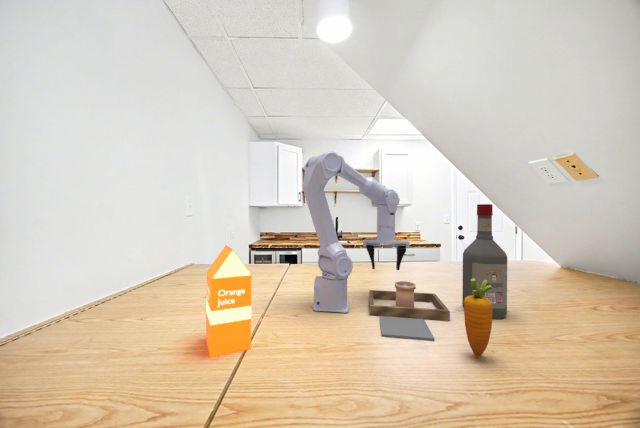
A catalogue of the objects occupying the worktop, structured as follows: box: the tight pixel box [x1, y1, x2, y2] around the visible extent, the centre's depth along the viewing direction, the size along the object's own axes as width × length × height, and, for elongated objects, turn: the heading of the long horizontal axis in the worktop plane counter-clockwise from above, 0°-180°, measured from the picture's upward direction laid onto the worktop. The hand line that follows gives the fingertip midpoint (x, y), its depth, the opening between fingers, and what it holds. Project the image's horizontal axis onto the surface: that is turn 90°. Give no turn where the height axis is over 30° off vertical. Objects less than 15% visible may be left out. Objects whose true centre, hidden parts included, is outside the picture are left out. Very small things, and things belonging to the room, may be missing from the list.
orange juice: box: [205, 244, 252, 358], centre depth 57 cm, size 8×9×20 cm
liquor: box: [461, 203, 508, 320], centre depth 76 cm, size 9×9×30 cm
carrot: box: [463, 278, 493, 358], centre depth 52 cm, size 5×5×15 cm
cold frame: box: [369, 289, 451, 322], centre depth 79 cm, size 20×16×2 cm
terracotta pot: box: [394, 280, 417, 308], centre depth 79 cm, size 6×6×7 cm
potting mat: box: [379, 316, 435, 342], centre depth 65 cm, size 11×11×1 cm
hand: (385, 269), depth 89 cm, fingers open, 7 cm apart
